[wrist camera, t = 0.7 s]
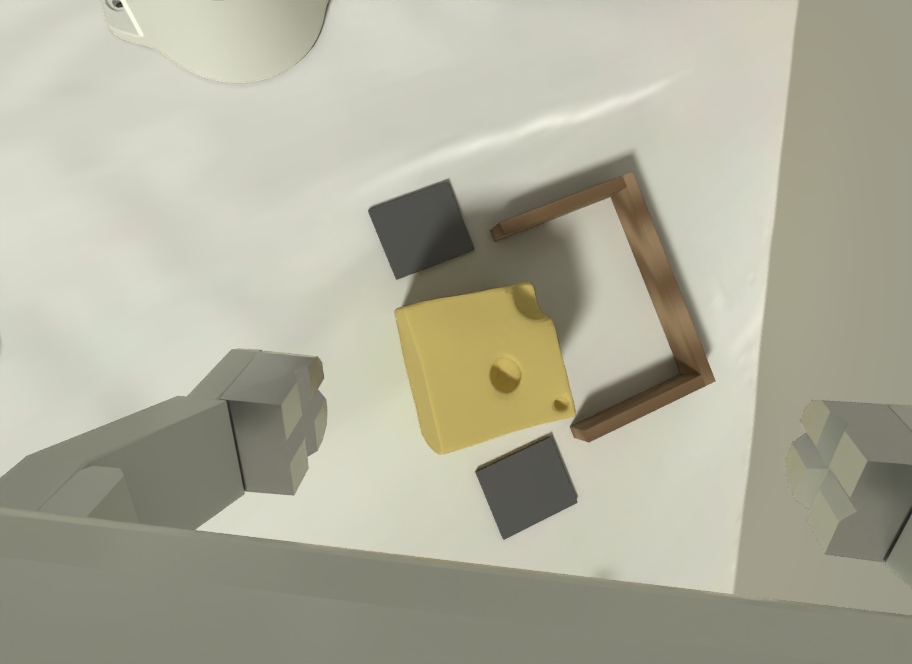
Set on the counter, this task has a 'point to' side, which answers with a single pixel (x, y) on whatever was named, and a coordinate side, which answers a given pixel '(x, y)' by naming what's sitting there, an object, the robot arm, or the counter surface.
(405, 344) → the cheese
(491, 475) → the pads
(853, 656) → the robot arm
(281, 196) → the counter surface
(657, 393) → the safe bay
